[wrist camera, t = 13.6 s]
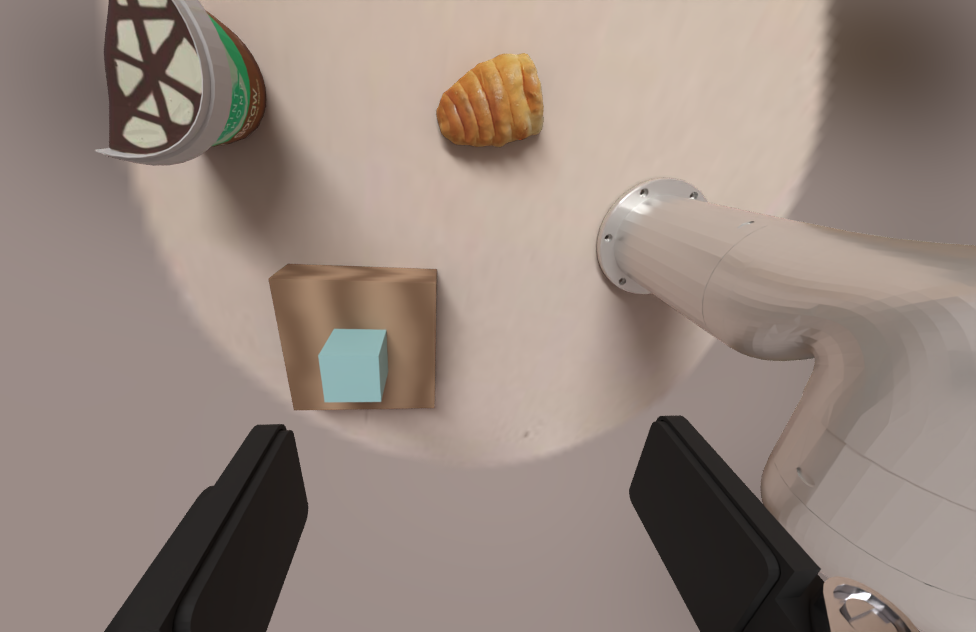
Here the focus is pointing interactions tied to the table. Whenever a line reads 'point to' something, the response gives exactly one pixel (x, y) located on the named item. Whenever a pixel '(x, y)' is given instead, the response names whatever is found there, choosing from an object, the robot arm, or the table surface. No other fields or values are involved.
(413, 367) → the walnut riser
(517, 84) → the pastry
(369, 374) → the teal cube
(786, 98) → the table surface
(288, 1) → the table surface
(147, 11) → the food container
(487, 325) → the table surface
